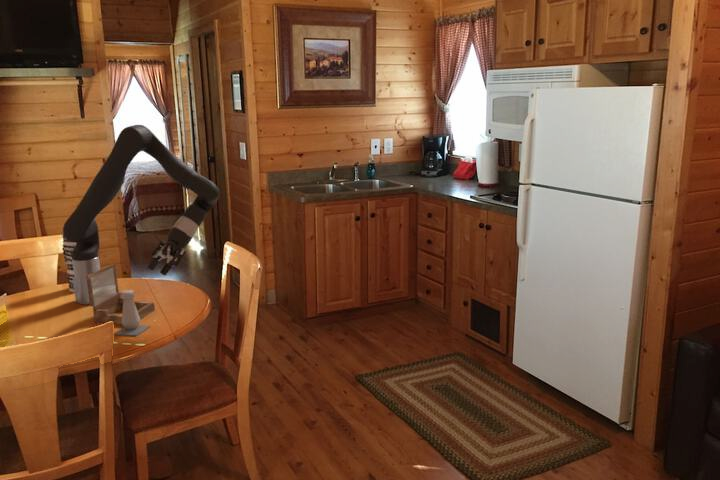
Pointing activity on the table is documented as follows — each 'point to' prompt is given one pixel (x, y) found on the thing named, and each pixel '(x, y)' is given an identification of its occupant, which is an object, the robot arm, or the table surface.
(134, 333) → the plate
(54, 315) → the table surface
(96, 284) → the frame
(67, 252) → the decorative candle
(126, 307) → the salt shaker
